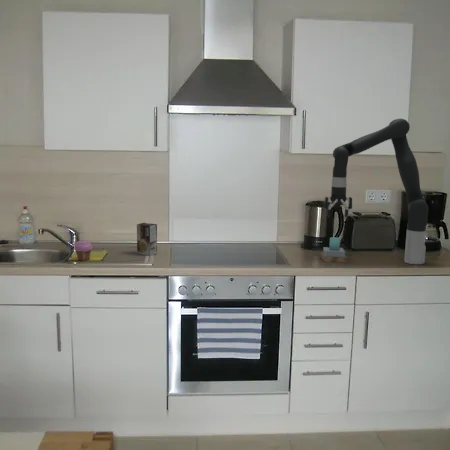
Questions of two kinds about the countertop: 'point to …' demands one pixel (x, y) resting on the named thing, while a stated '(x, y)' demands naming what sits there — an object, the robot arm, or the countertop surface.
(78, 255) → the cupcake
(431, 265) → the countertop surface
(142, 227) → the coffee box
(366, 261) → the countertop surface
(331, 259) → the bottom block
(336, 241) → the teal cylinder
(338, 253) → the top block
